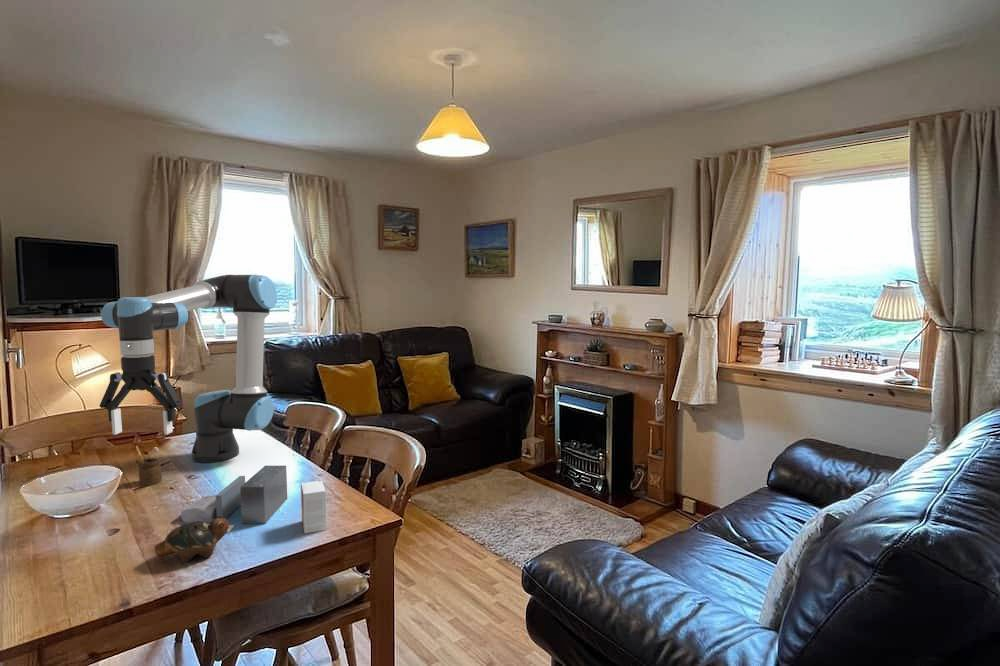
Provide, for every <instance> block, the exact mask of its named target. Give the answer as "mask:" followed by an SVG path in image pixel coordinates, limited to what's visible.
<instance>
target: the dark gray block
mask: <svg viewBox="0 0 1000 666" xmlns="http://www.w3.org/2000/svg"><path fill="white" fill-rule="evenodd" d="M287 477H288V475H287V465H264V466H263V467H262V468H261V469H259V470H258V471H257V472H256V473H255V474H254V475H253V476H251V477H250V478H249V479H248V480H247V481H245V483H244V484H243V485H242V486H241V487H240V491H241V505H240V509H241V510H240V511H241V524H242V525H265V524H267V522H269V520H270V519H271V518H273V516H274V514H275V513H277V511H279V509H280V508H281V506H283V504H284V503H285V502H286V501H287V500H288V481H287V480H288V479H287Z"/></svg>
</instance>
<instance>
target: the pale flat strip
mask: <svg viewBox="0 0 1000 666" xmlns="http://www.w3.org/2000/svg"><path fill="white" fill-rule="evenodd" d="M234 528H235V524H233V525H232V524H229V528H228V530H227V532H226V533H230V532H231V531H232V530H233V529H234Z"/></svg>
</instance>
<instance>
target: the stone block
mask: <svg viewBox="0 0 1000 666" xmlns="http://www.w3.org/2000/svg"><path fill="white" fill-rule="evenodd" d="M217 494H218V493H217ZM217 494H212V495H207V496H203V497H201V498H199V499H198V500H196V501H195V502H193V503H192V504H191V505H190V506H188V507H187V508H184V509H183V510H181V512H180V518H181V520H182V522H184V523H190V522H196V521H203V522H206V523H209V524H210V523H211V522H212V521H213V520H214V519H217V513H216V495H217Z"/></svg>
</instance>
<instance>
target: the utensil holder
mask: <svg viewBox="0 0 1000 666" xmlns="http://www.w3.org/2000/svg"><path fill="white" fill-rule="evenodd" d="M135 449H136V452H137V454H138V457H139V458H140V461H139V469H138V479H139V480H138V481H139V484H140V485H141V486H153V485H157V484H159V483H160V482H161V481H162V479H163V476H162V475H163V474H162V466H161V464H160V459H159V457H160V454H157V455H156V454H153V455H150V458H146V459H143V458H142V453H141V450H140V449H139V445H136V446H135ZM154 450H155V453H158V452H157V451H161V450H160V448H159V447H157V446H156V447H154V448H153V449H152V452H154ZM156 456H157V457H156Z"/></svg>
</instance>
